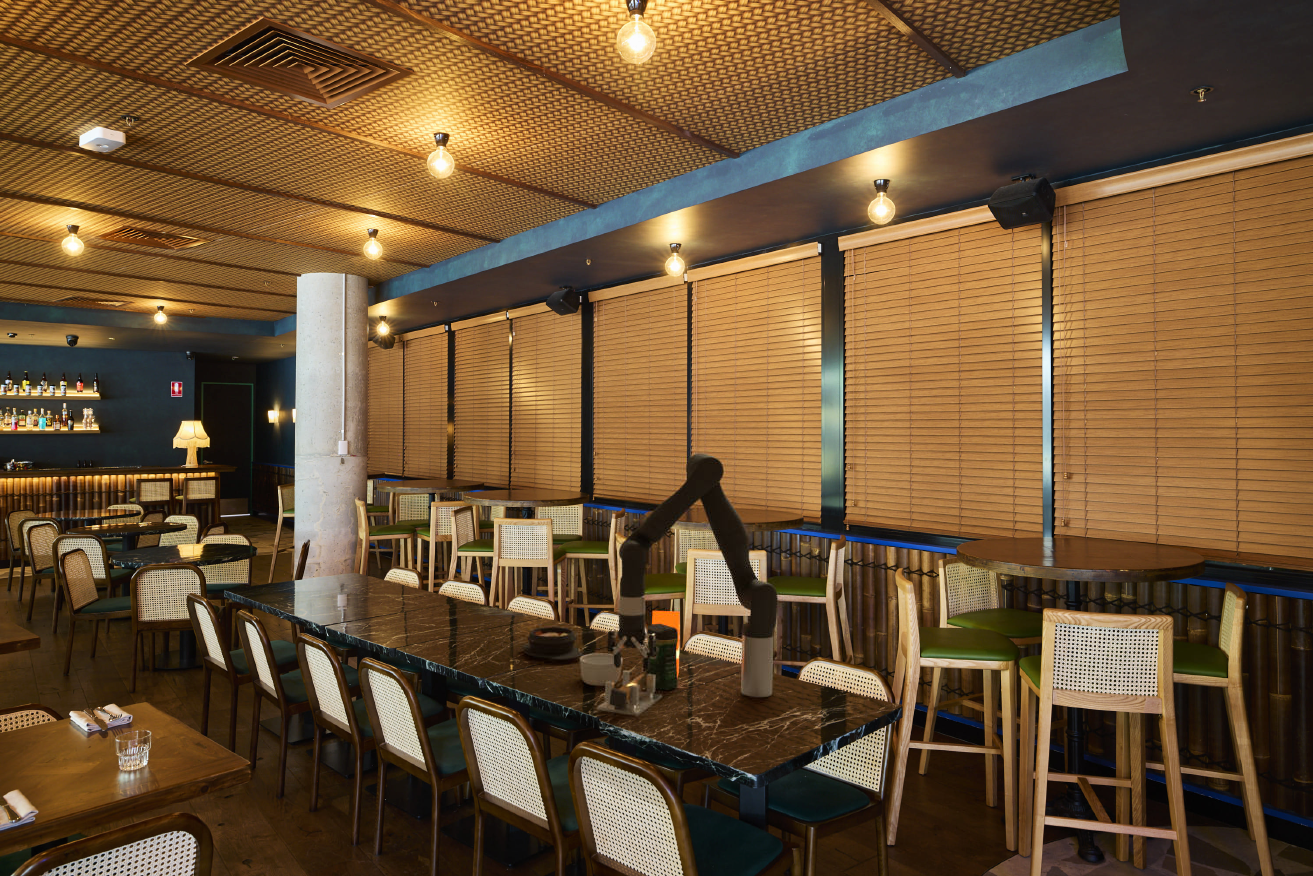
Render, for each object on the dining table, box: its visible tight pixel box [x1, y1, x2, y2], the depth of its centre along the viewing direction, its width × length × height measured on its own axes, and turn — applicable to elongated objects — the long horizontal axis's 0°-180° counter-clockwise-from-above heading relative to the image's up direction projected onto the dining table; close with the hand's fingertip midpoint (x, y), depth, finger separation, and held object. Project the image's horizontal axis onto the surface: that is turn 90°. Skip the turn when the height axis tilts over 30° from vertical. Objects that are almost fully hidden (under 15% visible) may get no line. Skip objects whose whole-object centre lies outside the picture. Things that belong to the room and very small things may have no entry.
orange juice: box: [651, 610, 681, 679], centre depth 253 cm, size 8×9×20 cm
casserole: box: [521, 626, 584, 661], centre depth 272 cm, size 25×19×8 cm
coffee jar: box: [645, 623, 678, 691], centre depth 240 cm, size 10×8×19 cm
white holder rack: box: [596, 670, 663, 717], centre depth 223 cm, size 18×12×7 cm, turn 158°
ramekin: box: [579, 652, 623, 687], centre depth 244 cm, size 13×13×7 cm
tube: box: [609, 673, 647, 708], centre depth 222 cm, size 19×4×4 cm, turn 158°
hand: (631, 668), depth 223 cm, fingers open, 8 cm apart
